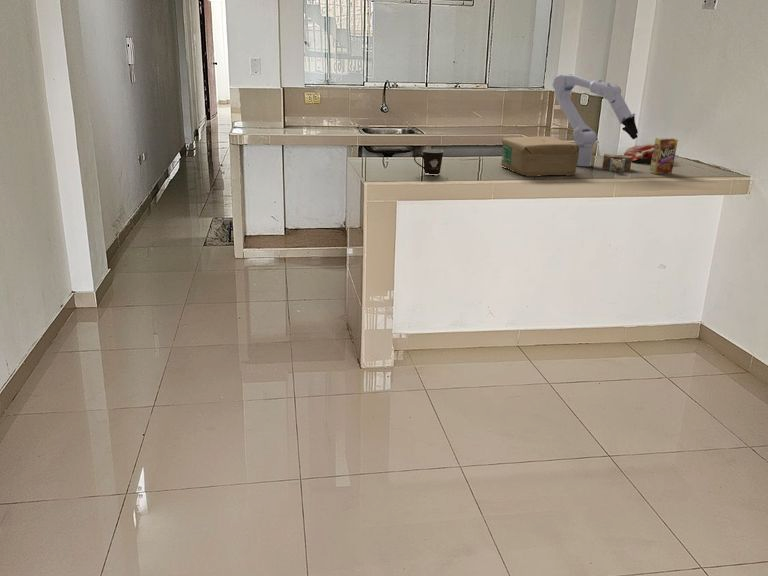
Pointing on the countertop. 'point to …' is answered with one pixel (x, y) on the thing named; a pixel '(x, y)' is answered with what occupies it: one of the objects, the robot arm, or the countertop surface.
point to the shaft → (617, 166)
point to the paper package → (539, 155)
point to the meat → (640, 151)
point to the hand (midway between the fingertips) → (635, 136)
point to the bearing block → (617, 157)
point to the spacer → (612, 164)
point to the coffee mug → (431, 161)
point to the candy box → (663, 156)
